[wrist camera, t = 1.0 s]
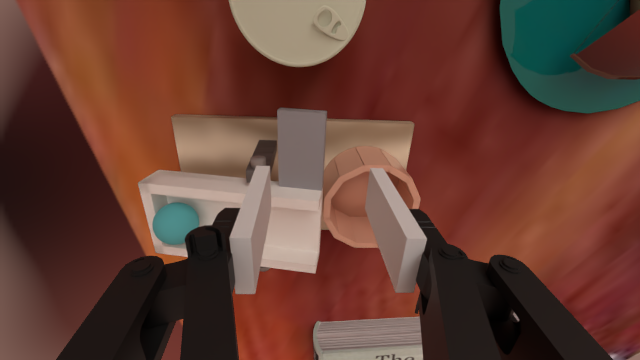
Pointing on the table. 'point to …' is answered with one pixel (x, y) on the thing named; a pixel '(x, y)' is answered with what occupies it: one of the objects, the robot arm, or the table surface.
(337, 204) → the cup
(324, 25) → the can
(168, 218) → the ball
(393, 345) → the book
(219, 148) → the stand
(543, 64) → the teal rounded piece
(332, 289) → the table surface
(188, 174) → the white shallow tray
